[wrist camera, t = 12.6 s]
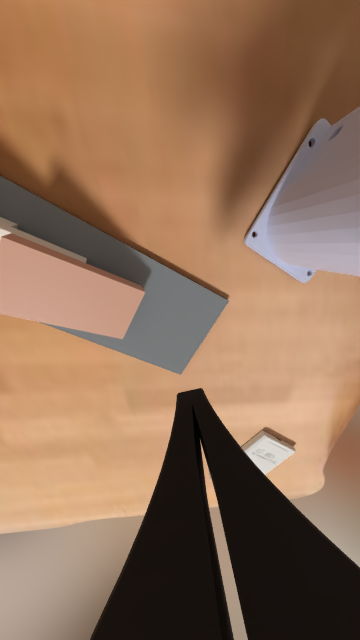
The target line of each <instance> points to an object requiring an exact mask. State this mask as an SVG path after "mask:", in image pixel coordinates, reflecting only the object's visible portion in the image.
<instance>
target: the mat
mask: <svg viewBox="0 0 360 640" xmlns="http://www.w3.org/2000/svg"><path fill="white" fill-rule="evenodd" d="M0 217H2V218H4V219H7V220H9V221H11V222H14V223H16V224H18V227H17V229H18V230H21V231H23V232H25V233H28V234H30V235H32V236H35V237H37V238H40V239H42V240H44V241H47V242H49V243H52V244H54V245H56V246H59V247H61V248H64V249H66V250H68V251H71V252H73V253H75V254H78V255H80V256H83V257H85V258H87V260H86V263H87V264H89V265H92V266H94V267H97V268H99V269H102V270H104V271H107V272H109V273H112V274H114V275H116V276H119V277H121V278H124V279H126V280H129V281H131V282H134V283H136V284H139V285H141V286H142V287H143V289H144V291H145V294H144V296H143V298H142V300H141V302H140V305H139V307H138V309H137V311H136V313H135V315H134V317H133V319H132V321H131V323H130V325H129V327H128V329H127V331H126V334H125V336H124V338H123V339H119V338H114V337H109V336H105V335H100V334H95V333H90V332H85V331H80V330H75V329H70V328H66V327H61V326H56V325H51V324H46V323H43V324H46V325H48V326H51V327H54V328H56V329H59V330H62V331H65V332H67V333H70V334H73V335H75V336H78V337H81V338H83V339H86V340H89V341H91V342H94V343H97V344H100V345H102V346H105V347H108V348H110V349H113V350H116V351H118V352H121V353H124V354H126V355H129V356H132V357H135V358H137V359H140V360H143V361H145V362H148V363H151V364H153V365H156V366H159V367H161V368H164V369H167V370H170V371H172V372H175V373H178V374H180V375H181V373H182V372H183V370H184V369H185V367H186V366H187V364H188V363H189V361H190V360H191V358H192V357H193V355H194V354H195V352H196V351H197V349H198V347H199V346H200V344H201V343H202V341H203V340H204V338H205V337H206V335H207V334H208V332H209V331H210V329H211V328H212V326H213V325H214V323H215V321H216V320H217V318H218V317H219V315H220V314H221V312H222V311H223V309H224V308H225V306H226V305H227V303H228V302H229V301H228V300H227V299H225V298H223V297H221V296H219V295H218V294H216V293H214V292H212V291H210V290H208V289H207V288H205V287H203V286H201V285H199V284H197V283H196V282H194V281H192V280H190V279H188V278H186V277H185V276H183V275H181V274H179V273H177V272H176V271H174V270H172V269H170V268H168V267H166V266H165V265H163V264H161V263H159V262H157V261H155V260H154V259H152V258H150V257H148V256H146V255H144V254H143V253H141V252H139V251H137V250H135V249H134V248H132V247H130V246H128V245H126V244H124V243H123V242H121V241H119V240H117V239H115V238H113V237H112V236H110V235H108V234H106V233H104V232H102V231H101V230H99V229H97V228H95V227H93V226H91V225H90V224H88V223H86V222H84V221H82V220H81V219H79V218H77V217H75V216H73V215H71V214H70V213H68V212H66V211H64V210H62V209H60V208H59V207H57V206H55V205H53V204H51V203H49V202H48V201H46V200H44V199H42V198H40V197H39V196H37V195H35V194H33V193H31V192H29V191H28V190H26V189H24V188H22V187H20V186H18V185H17V184H15V183H13V182H11V181H9V180H7V179H6V178H4V177H2V176H0ZM40 323H41V322H40Z"/></svg>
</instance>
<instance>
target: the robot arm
mask: <svg viewBox="0 0 360 640" xmlns="http://www.w3.org/2000/svg"><path fill="white" fill-rule="evenodd" d="M309 141H310V142H311V147H309ZM253 232H255V234H256V235H255V237H254V238H253V237H252V233H253ZM244 243H245V245H246V246H248V247H249V248H251V249H252V250H254V251H255V252H257V253H258V254H260V255H261V256H263V257H264V258H266V259H267V260H269V261H270V262H272V263H273V264H274V265H276V266H277V267H279V268H280V269H282V270H283V271H285V272H286V273H288V274H289V275H291V276H292V277H294V278H295V279H297V280H298V281H300V282H302V283H306V282H308V281H309V280H310V279H311V277H312V276H313V275H314V273H315V272H316V271H317V270H323V271H329V272H335V273H341V274H348V275H354V276H360V106H359V107H357V108H356V109H355V110H353V111H352V112H350V113H349V114H347V115H346V116H344V117H343V118H342V119H340V120H339V121H337V122H336V123H334V124H333V125H331V124H330V123H329V122H328V121H327V120H326V119H324V118H321V119H320V120H318V121H317V122H316V123H315V124H314V125H313V127H312V128H311V130H310V131H309V133H308V135H307V136H306V138H305V140H304V141H303V143H302V145H301V146H300V148H299V149H298V151H297V153H296V154H295V156H294V158H293V159H292V161H291V163H290V164H289V166H288V168H287V169H286V171H285V172H284V174H283V176H282V177H281V179H280V181H279V182H278V184H277V186H276V187H275V189H274V191H273V192H272V194H271V195H270V197H269V199H268V200H267V202H266V204H265V205H264V207H263V209H262V210H261V212H260V214H259V215H258V217H257V218H256V220H255V222H254V223H253V225H252V227H251V228H250V230H249V232H248V233H247V235H246V236H245V239H244ZM308 271H309V274H308V275H307V273H308ZM200 440H201V444H202V447H203V451H204V454H205V458H206V461H207V465H208V468H209V472H210V475H211V479H212V482H213V485H214V489H215V493H216V497H217V501H218V505H219V509H220V514H221V518H222V523H223V527H224V532H225V537H226V541H227V546H228V551H229V555H230V560H231V564H232V569H233V573H234V578H235V582H236V587H237V592H238V596H239V600H240V605H241V610H242V614H243V619H244V624H245V628H246V633H247V637H248V640H360V567H358V566H357V565H356V564H355V563H354V562H353V561H352V560H351V559H350V558H349V557H348V556H346V555H345V554H344V553H343V552H342V551H341V550H340V549H339V548H338V547H337V546H336V545H335V544H334V543H332V542H331V541H330V540H329V539H328V538H327V537H326V536H325V535H324V534H323V533H322V532H321V531H320V530H318V528H317V527H316V526H315V525H313V524H312V523H311V522H310V521H309V520H308V519H307V518H306V517H305V516H304V515H303V514H302V513H301V512H300V511H299V510H298V509H297V508H296V507H295V506H294V505H293V504H292V503H291V502H290V501H289V500H288V499H287V498H286V497H285V496H284V495H283V494H282V492H281V491H280V490H279V489H278V488H277V487H276V486H275V485H274V484H273V483H272V482H271V481H270V480H269V479H268V478H267V477H266V476H265V475H264V473H263V472H262V471H261V470H260V469H259V468H258V467H257V466H256V465H255V463H254V462H253V461H252V460H251V459H250V458H249V456H248V455H247V454H246V453H245V452H244V450H243V449H242V448H241V447H240V446H239V444H238V443H237V442H236V440H235V439H234V438H233V437H232V435H231V434H230V433H229V431H228V430H227V429H226V427H225V426H224V424H223V423H222V421H221V420H220V419H219V417H218V416H217V414H216V413H215V411H214V410H213V408H212V406H211V405H210V403H209V401H208V399H207V397H206V395H205V393H204V391H203V389H201V388H199V389H195V390H190V391H186V392H181V393H178V394H177V402H176V411H175V417H174V422H173V427H172V432H171V436H170V440H169V444H168V448H167V451H166V455H165V459H164V462H163V465H162V469H161V472H160V475H159V478H158V481H157V484H156V487H155V490H154V492H153V495H152V498H151V501H150V503H149V506H148V509H147V511H146V514H145V517H144V519H143V522H142V524H141V527H140V529H139V532H138V534H137V536H136V538H135V541H134V543H133V546H132V548H131V550H130V553H129V555H128V558H127V560H126V562H125V565H124V567H123V569H122V572H121V574H120V576H119V578H118V580H117V582H116V584H115V586H114V589H113V591H112V593H111V595H110V597H109V599H108V601H107V604H106V606H105V608H104V610H103V612H102V614H101V616H100V619H99V621H98V623H97V625H96V627H95V629H94V632H93V634H92V636H91V639H90V640H234V638H233V633H232V628H231V623H230V617H229V612H228V607H227V602H226V597H225V591H224V586H223V581H222V576H221V570H220V565H219V560H218V554H217V549H216V543H215V538H214V533H213V527H212V522H211V517H210V511H209V506H208V500H207V493H206V485H205V477H204V469H203V461H202V452H201V444H200Z"/></svg>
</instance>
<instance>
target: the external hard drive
mask: <svg viewBox="0 0 360 640" xmlns="http://www.w3.org/2000/svg"><path fill="white" fill-rule="evenodd" d="M241 448H242V449H243V450H244V452H245V453H246V454H247V455H248V456H249V458H250V459H251V460H252V461H253V462H254V463H255V465H256V466H257V467H258V468H259V469H260V470H261V471H262V472H263V473H264V475H265V474H266V473H268V472H269V471H271V470H272V469H273V468H275V467H276V466H277V465H279V464H280V463H281V462H283V461H284V460H285V459H287V458H288V457H289V456H291V455H292V454H294V453H295V452H296V450H295V448H294V447H293V446H291V445H289V444H287V443H286V442H284V441H282V440H278V439H277V438H276V437H274V436H272V435H270V434H269V433H267V432H265V431H263V430H262V431H260V432H259V433H258V434H257V435H256V436H254V437H253V438H252V439H251V440H249V441H248V442H247V443H246V444H244V445H243V446H242V447H241ZM209 475H210V473H209ZM210 479H211V475H210ZM211 480H212V479H211Z"/></svg>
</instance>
